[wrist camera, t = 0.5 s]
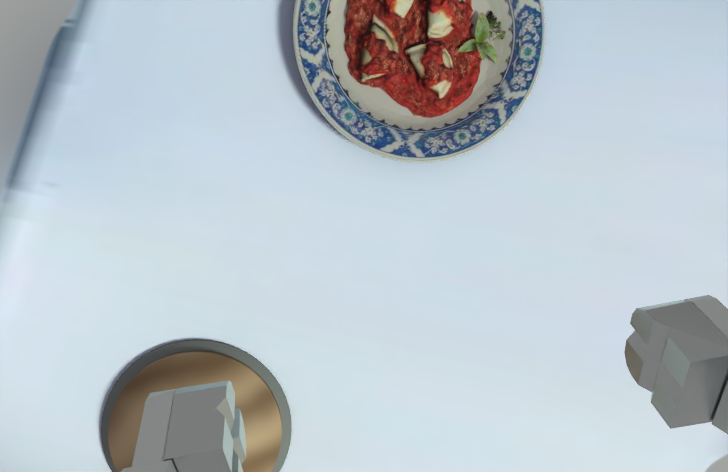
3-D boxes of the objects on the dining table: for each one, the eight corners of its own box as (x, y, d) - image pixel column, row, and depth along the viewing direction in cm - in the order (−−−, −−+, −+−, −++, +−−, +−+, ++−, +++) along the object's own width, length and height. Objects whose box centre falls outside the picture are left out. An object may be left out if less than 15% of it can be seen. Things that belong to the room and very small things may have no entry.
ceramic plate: (262, 119, 60) (260, 116, 57) (335, -132, 58) (337, -148, 55) (492, 193, 63) (501, 194, 60) (570, -42, 61) (583, -53, 58)
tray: (327, 446, 65) (327, 448, 64) (178, 549, 65) (177, 552, 64) (219, 303, 62) (218, 304, 61) (63, 411, 62) (61, 413, 61)
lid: (314, 446, 64) (315, 470, 59) (179, 540, 64) (168, 571, 59) (216, 317, 61) (208, 330, 57) (75, 414, 61) (55, 436, 56)
